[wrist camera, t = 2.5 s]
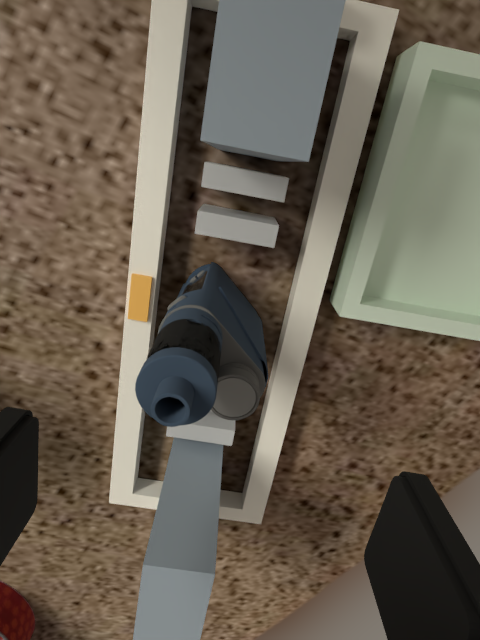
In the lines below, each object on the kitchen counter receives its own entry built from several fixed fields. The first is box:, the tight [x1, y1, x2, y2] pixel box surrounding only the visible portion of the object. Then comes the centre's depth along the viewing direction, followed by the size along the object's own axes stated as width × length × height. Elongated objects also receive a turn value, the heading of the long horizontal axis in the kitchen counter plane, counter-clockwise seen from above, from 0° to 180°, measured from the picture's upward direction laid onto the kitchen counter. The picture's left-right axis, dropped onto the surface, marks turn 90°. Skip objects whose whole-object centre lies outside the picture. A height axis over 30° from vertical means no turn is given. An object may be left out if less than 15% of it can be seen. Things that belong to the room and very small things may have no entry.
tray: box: [329, 41, 480, 341], centre depth 19 cm, size 12×10×2 cm
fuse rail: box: [109, 0, 399, 640], centre depth 18 cm, size 28×10×10 cm, turn 170°
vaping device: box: [135, 262, 268, 427], centre depth 17 cm, size 3×5×12 cm, turn 37°
